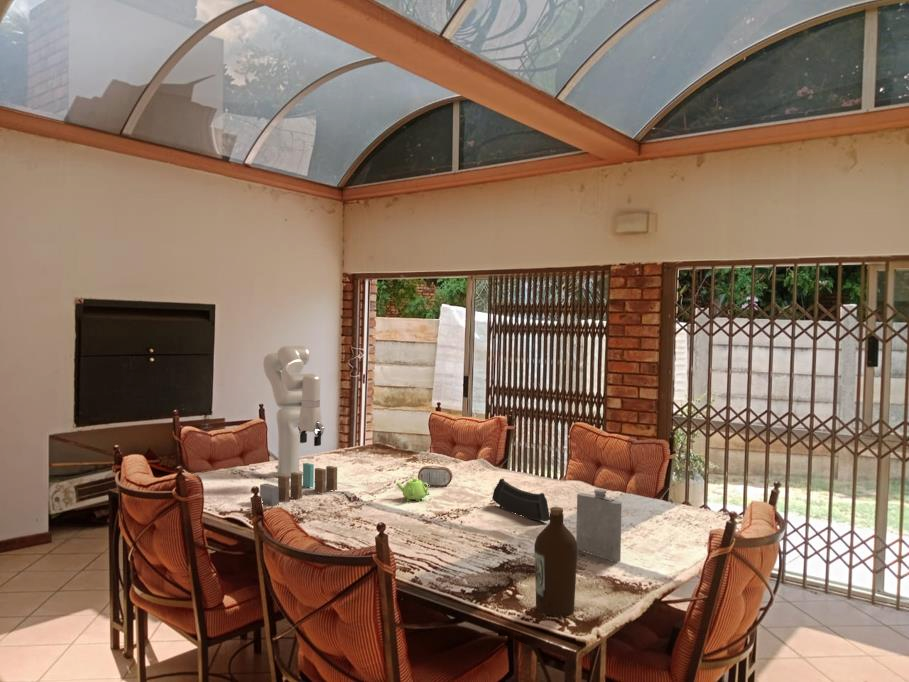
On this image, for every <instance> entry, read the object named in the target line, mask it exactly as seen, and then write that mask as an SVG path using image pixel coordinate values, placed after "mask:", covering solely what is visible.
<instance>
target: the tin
mask: <svg viewBox="0 0 909 682" xmlns="http://www.w3.org/2000/svg"><path fill="white" fill-rule="evenodd" d="M417 480H421V481H422V483H427V484H428V485H431V486H430V487H447V486H448V485H450V483H451V482H452V480H453V473H452V470H451V469H449V468H448V467H447V466H433V465H425V466H422V467H420V469H419V471H418V473H417ZM425 485H426V484H424V486H425Z"/></svg>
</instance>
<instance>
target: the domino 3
mask: <svg viewBox="0 0 909 682" xmlns="http://www.w3.org/2000/svg"><path fill="white" fill-rule="evenodd" d="M314 467H315V465H314V464H313V463H308V462H303V463H302V472H303V475H302V487H303V486H306V487H305V488H307V487H313V488H314V481H315V468H314Z"/></svg>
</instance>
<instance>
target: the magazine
mask: <svg viewBox="0 0 909 682" xmlns="http://www.w3.org/2000/svg"><path fill="white" fill-rule="evenodd" d="M492 501H494V503H496V504H497V505H499V508H503V509H504V510H506V511H507V512H509V511H510V513H511V512H513V513H512V514H514V513H516V514H518V515H517V516H519V515H522V516H524V517H527V518H526V519H528V518H529V520H536V521H541V522H549V521H550V511H549V510H550V509H549V506H548V500H547V498H546V495H545V493H543V492H542V493H532V492H529V491H525V490H522V489H520V488H518V487H515V486H514V485H512V484H510V483H509V482H507V481H505V479H504V478H500V479H499V481H498V483H497V484H496V485H495V488H494V489H493V493H492ZM516 514H515V515H516ZM522 516H521V517H522ZM524 517H523V518H524Z"/></svg>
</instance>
